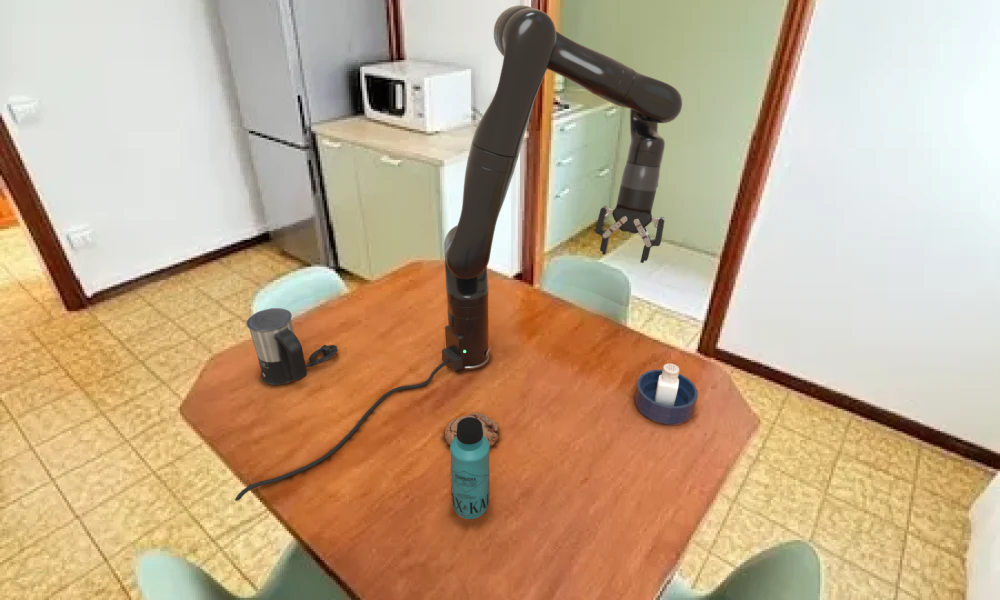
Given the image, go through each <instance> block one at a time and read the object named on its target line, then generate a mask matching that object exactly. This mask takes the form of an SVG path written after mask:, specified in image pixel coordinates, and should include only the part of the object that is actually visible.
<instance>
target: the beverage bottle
mask: <svg viewBox="0 0 1000 600" xmlns="http://www.w3.org/2000/svg"><path fill="white" fill-rule="evenodd" d="M490 449H491V447H490V444H489V441H488V439H487V438H486V437H485V436H484V435H483V428H482V423H481V422H480V420H478V419H477V418H474V417H467V418H463V419H462V420H460V421H459V422H458V425H457V432H456V436H455V437H454V438H453V440H452V441H451V444H450V445H449V451H450V475H449V476H450V485H451V486H450V489H451V490H450V493H451V494H450V495H451V498H450V499H451V503H452V504H451V505H452V506H451V507H452V509H453V510H454V513H456V514H457V515H458V516H459V517H460V518H461V519H465V520H476V519H478V518H480V517H482V516H483V515H484V514H486V512H487V511H488V509H489V506H490V504H491V503H490V501H491V498H490V497H491V489H490V485H491V479H490V471H491V469H490Z"/></svg>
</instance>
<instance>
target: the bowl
mask: <svg viewBox="0 0 1000 600" xmlns="http://www.w3.org/2000/svg"><path fill="white" fill-rule="evenodd" d="M662 371H663V369H652V370H648V371H646V372H644V373H642V374H640V376H639V377H638V378H637V381H636V387H635V393H634V399H633V400H634V401H633V402H634V404H635V407H636V409H637V410H638V411H639V412H640V414H642V416H643V415H644V417H646V418H647V419H649V420H651V421H654V422H656V423H659V424H664V425H679V424H682V423H683V424H684V423H686V422H688V421H689V420H690V419H691V418H692V417H693V415H694V413H695V409H696V406H697V402H698V399H699V391H698V388H697V386H696V385H695V384H694V382H693V381H691V379H690V378H688V377H687V376H685V375H683V374H681V373H679V375H678V379H679V385H678V391H677V395H676V399H675V404H674V406H667V405H662V404H659V403H657V402H654V400H655V394H656V389H657V384H658V379H659V375H662Z"/></svg>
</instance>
